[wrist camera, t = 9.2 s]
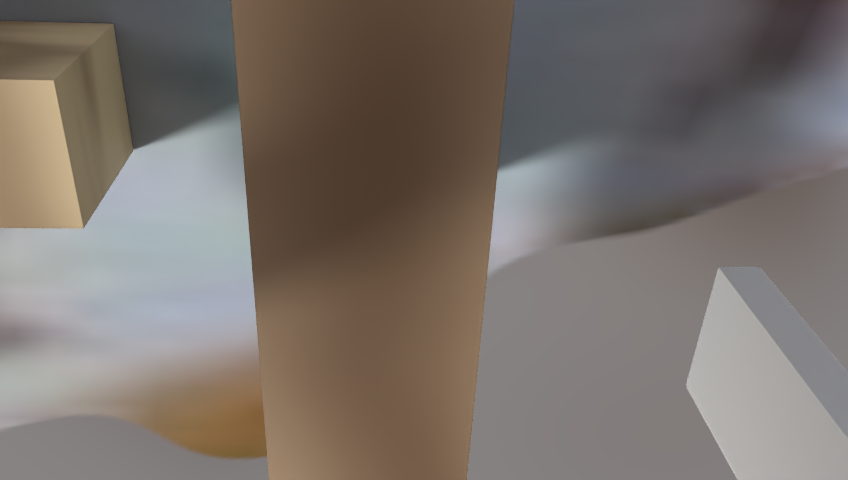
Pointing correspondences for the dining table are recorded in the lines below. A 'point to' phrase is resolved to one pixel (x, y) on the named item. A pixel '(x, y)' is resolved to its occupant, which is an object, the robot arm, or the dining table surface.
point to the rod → (370, 225)
